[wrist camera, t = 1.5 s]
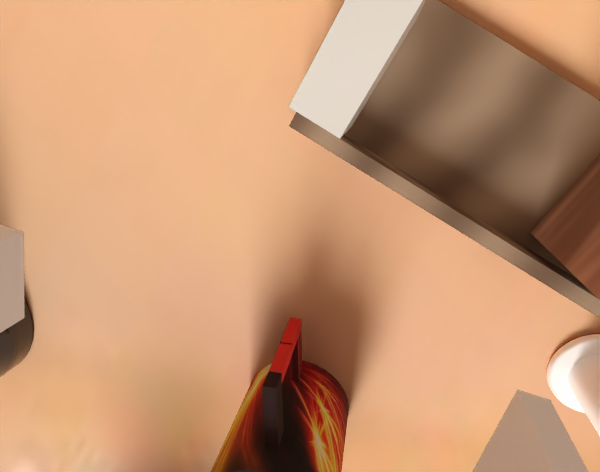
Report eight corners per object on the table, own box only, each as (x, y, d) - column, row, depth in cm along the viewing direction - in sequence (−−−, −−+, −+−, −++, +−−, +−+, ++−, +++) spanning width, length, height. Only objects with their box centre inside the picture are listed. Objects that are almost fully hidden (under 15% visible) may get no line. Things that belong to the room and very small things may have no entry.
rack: (300, 121, 31) (239, 143, 18) (383, -30, 27) (382, -144, 14) (572, 290, 31) (707, 432, 18) (696, 165, 27) (985, 233, 14)
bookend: (316, 102, 29) (288, 107, 21) (376, -7, 26) (373, -53, 18) (352, 125, 29) (339, 138, 21) (417, 18, 26) (432, -16, 18)
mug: (301, 307, 36) (264, 403, 25) (365, 430, 39) (357, 565, 28) (211, 339, 39) (142, 437, 28) (276, 451, 42) (237, 580, 31)
